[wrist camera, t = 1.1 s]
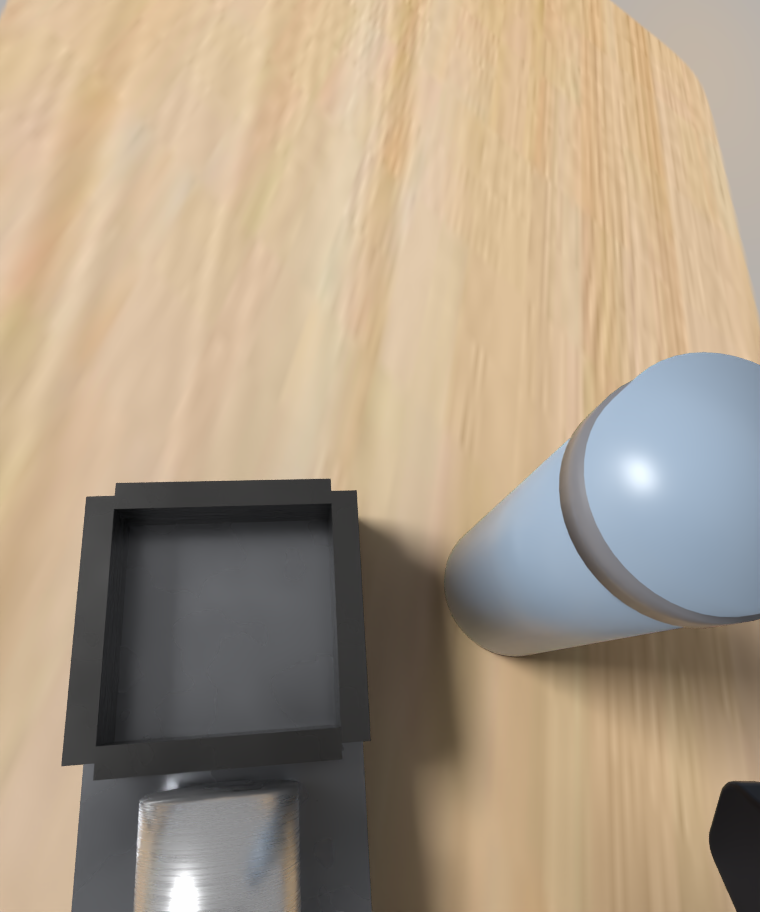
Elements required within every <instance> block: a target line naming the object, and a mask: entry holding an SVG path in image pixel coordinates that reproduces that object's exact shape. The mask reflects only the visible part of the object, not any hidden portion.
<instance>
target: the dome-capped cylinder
mask: <svg viewBox="0 0 760 912" xmlns="http://www.w3.org/2000/svg"><path fill="white" fill-rule="evenodd" d="M444 590H445V596H446V600H447V604H448V607H449V609H450V612H451V614H452V616H453V618H454V620H455V621H456V623H457V624H458V626H459V627H460V628H461V630H462V631H463V632H464V633H465V634H466V635H467V636H468V637H469V638H470V639H471V640H472V641H474V642H475V643H476V644H478V645H479V646H481V647H483V648H484V649H486V650H489V651H491V652H493V653H497V654H500V655H505V656H526V655H532V654H537V653H543V652H549V651H554V650H560V649H565V648H571V647H577V646H582V645H588V644H593V643H599V642H604V641H610V640H616V639H621V638H627V637H632V636H638V635H644V634H649V633H655V632H660V631H666V630H671V629H677V628H683V627H686V628H710V627H717V626H724V625H730V624H736V623H742V622H748V621H754V620H757V619H760V365H758V364H756V363H754V362H751V361H748V360H745V359H742V358H739V357H736V356H730V355H725V354H720V353H706V352H702V353H688V354H683V355H678V356H674V357H671V358H668V359H665V360H662V361H660V362H658V363H656V364H655V365H653V366H651V367H649V368H648V369H646V370H645V371H644V372H642V373H641V374H640V375H638V376H637V377H636V378H635V379H634V380H632V381H630V382H629V383H627V384H625V385H623V386H621V387H620V388H618V389H617V390H616V391H614V392H613V393H612V394H610V395H609V396H608V397H607V398H606V399H605V400H604V401H603V402H602V403H601V404H600V405H599V406H598V407H596V408H595V409H594V410H593V411H592V412H591V413H590V414H589V415H588V416H587V417H586V418H585V419H584V420H583V421H582V422H581V423H580V424H579V426H578V427H577V429H576V430H575V432H574V433H573V434H572V436H571V438H570V439H569V440H567V441H566V442H565V443H564V444H563V445H562V446H561V447H560V448H559V449H558V450H557V451H555V452H554V453H553V454H552V455H551V456H550V457H549V458H548V459H547V460H546V461H545V462H543V463H542V464H541V465H540V466H539V467H538V468H537V469H536V470H535V471H534V472H533V473H531V474H530V475H529V476H528V477H527V478H526V479H525V480H524V481H523V482H522V483H521V484H519V485H518V486H517V487H516V488H515V489H514V490H513V491H512V492H511V493H510V494H509V495H507V496H506V497H505V498H504V499H503V500H502V501H501V502H500V503H499V504H498V505H497V506H495V507H494V508H493V509H492V510H491V511H490V512H489V513H488V514H487V515H486V516H485V517H483V518H482V519H481V520H480V521H479V522H478V523H477V524H476V525H475V526H474V527H473V528H471V529H470V530H469V531H468V532H467V533H466V534H465V535H464V536H463V537H462V538H461V539H460V540H459V541H458V542H457V544H456V545H455V547H454V548H453V550H452V552H451V554H450V556H449V558H448V561H447V564H446V569H445V576H444Z"/></svg>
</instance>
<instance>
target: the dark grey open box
mask: <svg viewBox="0 0 760 912" xmlns="http://www.w3.org/2000/svg"><path fill="white" fill-rule="evenodd" d="M363 741H371V737H370V719H369V701H368V684H367V666H366V648H365V631H364V613H363V595H362V577H361V560H360V542H359V524H358V506H357V490H354V491H331V479H296V480H247V481H197V482H148V483H116V488H115V496H94V497H86V506H85V517H84V528H83V538H82V549H81V560H80V571H79V582H78V592H77V603H76V614H75V625H74V636H73V646H72V657H71V668H70V679H69V690H68V700H67V711H66V722H65V733H64V744H63V754H62V765H61V766H70V765H82V764H83V777H82V789H81V801H80V813H79V825H78V838H77V850H76V862H75V874H74V886H73V898H72V911H71V912H372V906H371V887H370V868H369V849H368V830H367V811H366V792H365V773H364V754H363Z"/></svg>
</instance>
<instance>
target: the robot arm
mask: <svg viewBox="0 0 760 912" xmlns="http://www.w3.org/2000/svg"><path fill="white" fill-rule="evenodd" d="M709 844H710V850H711V854H712V856H713V859H714V862H715V864H716V866H717V868H718V871H719V873H720V875H721V877H722V880H723V882H724V884H725V886H726V889H727V891H728V893H729V895H730V898H731V900H732V902H733V905H734V907H735V909H736V911H737V912H760V782H756V781H731V782H728V783H727V784H726V785H725V786H724V787H723V788H722V790H721V793H720V797H719V800H718V804H717V807H716V811H715V814H714V818H713V821H712V825H711V828H710V832H709Z"/></svg>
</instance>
